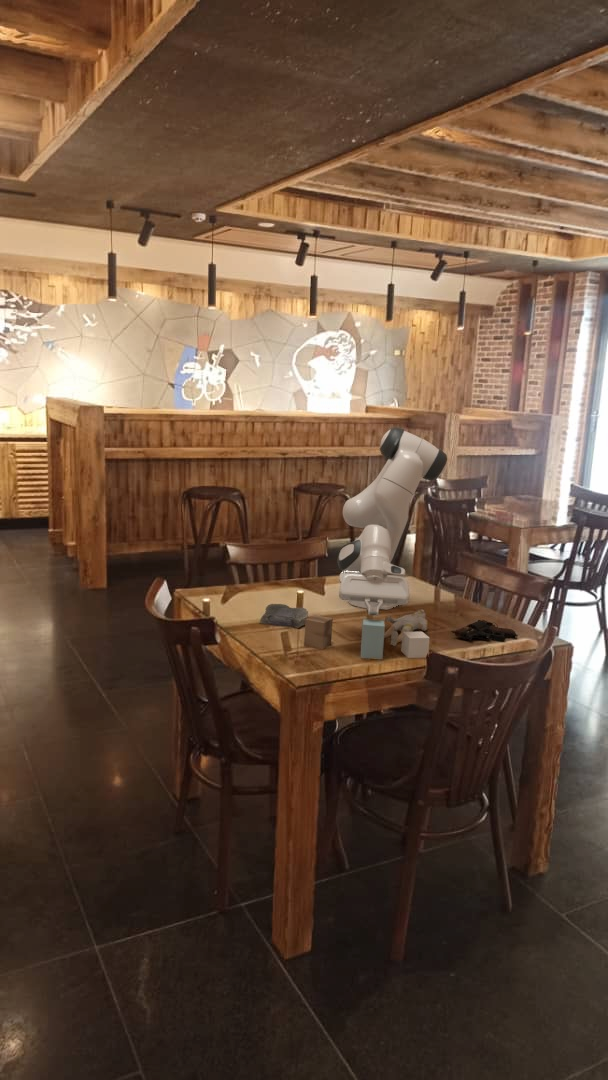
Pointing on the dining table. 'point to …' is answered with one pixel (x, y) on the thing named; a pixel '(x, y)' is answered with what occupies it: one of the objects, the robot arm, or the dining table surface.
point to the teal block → (372, 638)
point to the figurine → (405, 625)
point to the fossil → (284, 616)
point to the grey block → (415, 644)
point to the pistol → (485, 632)
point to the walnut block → (318, 631)
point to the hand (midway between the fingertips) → (373, 614)
